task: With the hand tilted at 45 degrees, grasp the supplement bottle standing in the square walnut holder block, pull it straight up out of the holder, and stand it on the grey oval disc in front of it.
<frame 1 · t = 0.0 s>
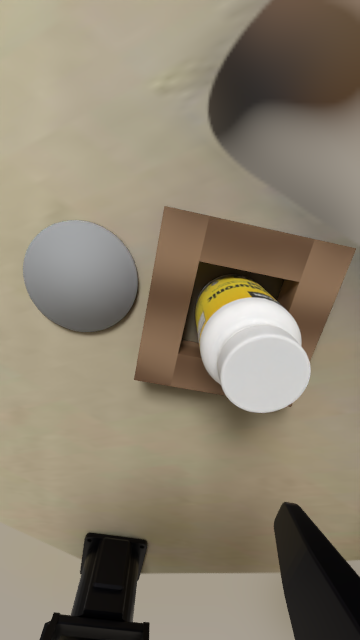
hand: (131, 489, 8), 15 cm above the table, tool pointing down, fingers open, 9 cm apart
holder block: (229, 307, 22), on the table
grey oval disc: (82, 278, 21), on the table
supplement bottle: (229, 306, 22), resting in holder block
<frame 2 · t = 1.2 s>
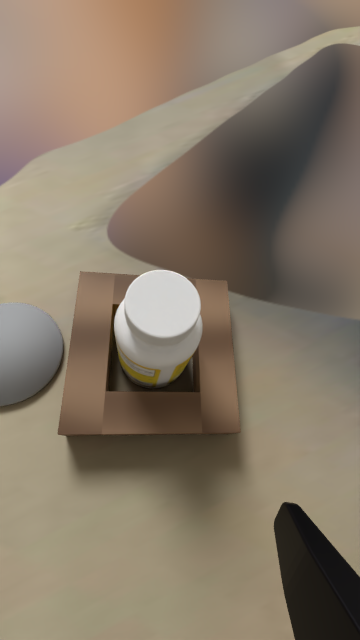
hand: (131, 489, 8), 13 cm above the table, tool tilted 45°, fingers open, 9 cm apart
holder block: (152, 355, 24), on the table
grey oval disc: (8, 352, 22), on the table
supplement bottle: (152, 356, 24), resting in holder block
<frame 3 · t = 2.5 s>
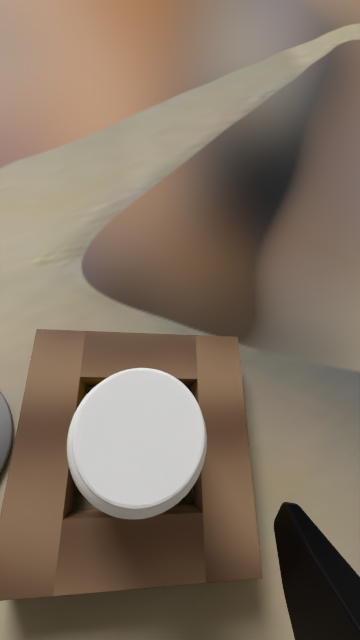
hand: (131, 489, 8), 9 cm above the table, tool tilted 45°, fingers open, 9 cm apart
holder block: (137, 442, 17), on the table
supplement bottle: (137, 442, 18), resting in holder block
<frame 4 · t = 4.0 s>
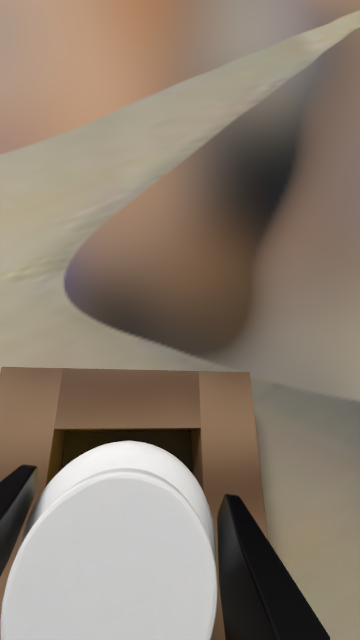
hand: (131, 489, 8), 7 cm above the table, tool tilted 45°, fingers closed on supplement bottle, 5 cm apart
holder block: (126, 503, 14), on the table
supplement bottle: (126, 502, 14), resting in holder block, touching gripper
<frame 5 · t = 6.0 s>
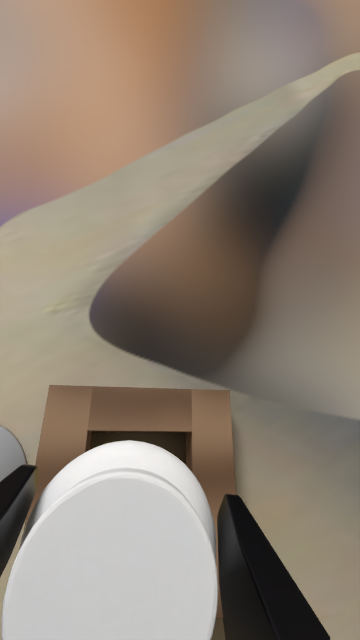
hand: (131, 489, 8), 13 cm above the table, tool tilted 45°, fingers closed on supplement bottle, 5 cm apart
holder block: (137, 484, 20), on the table
supplement bottle: (127, 501, 14), point 5 cm above the table, touching gripper
when the fingers open (8 cm above the table, at t = 8.3 s): supplement bottle stays where it is, resting on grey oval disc.
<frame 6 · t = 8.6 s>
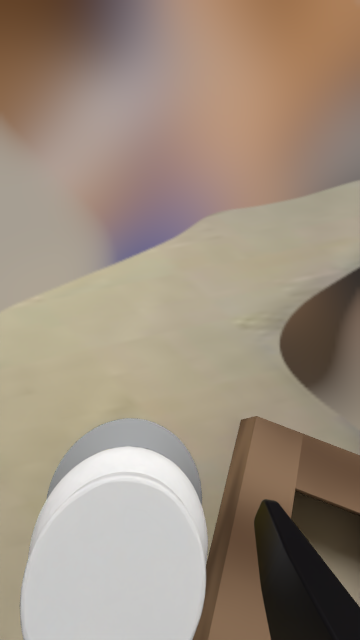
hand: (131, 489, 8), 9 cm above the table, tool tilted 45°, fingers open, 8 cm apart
holder block: (319, 571, 16), on the table
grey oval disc: (126, 497, 16), on the table
supplement bottle: (126, 502, 15), resting on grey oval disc
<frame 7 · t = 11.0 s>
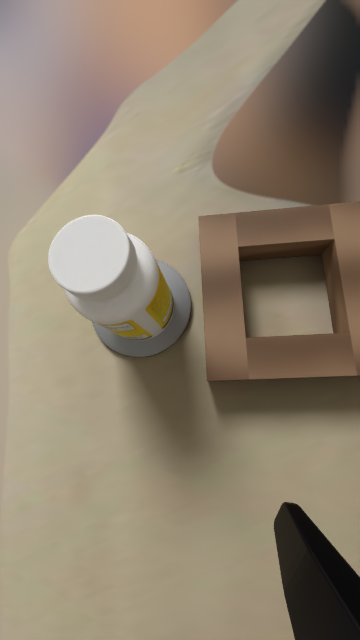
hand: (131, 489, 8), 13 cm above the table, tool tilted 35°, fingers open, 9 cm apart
holder block: (282, 298, 22), on the table
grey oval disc: (141, 306, 23), on the table
supplement bottle: (141, 308, 23), resting on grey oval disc
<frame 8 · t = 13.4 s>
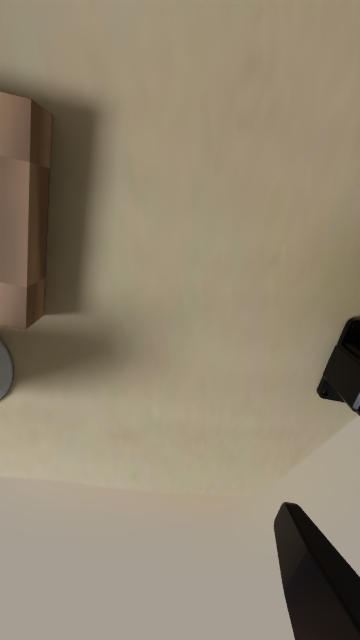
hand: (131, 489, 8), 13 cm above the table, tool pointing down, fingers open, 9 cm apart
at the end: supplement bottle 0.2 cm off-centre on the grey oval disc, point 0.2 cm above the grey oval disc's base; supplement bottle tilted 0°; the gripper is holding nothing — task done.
